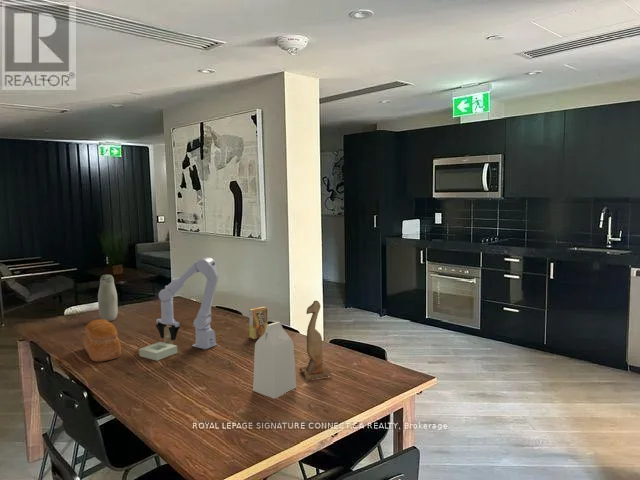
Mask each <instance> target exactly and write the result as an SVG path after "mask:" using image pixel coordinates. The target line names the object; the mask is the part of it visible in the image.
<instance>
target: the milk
mask: <svg viewBox="0 0 640 480" xmlns="http://www.w3.org/2000/svg"><path fill="white" fill-rule="evenodd" d="M294 346H295V345H294V341H293V340H292V338H291V336H290V335H289V334H288V333H287V331H285V329H284V328H283V325H282V322H280V321H276V322H272V323H269V324H267V327H266V331H265V333H264V334H263V335H262V336H261V337H260V338H257V341H256V342H255V344H254V357H253V358H254V359H253V361H254V362H253V384H252V388H253V389H252V391H253V392H255V393H258V394H261V395H264V396H266V397H268V398H272V399H277V398H279V397H281V396H284V395H285V394H287V393H286V392H288V391H290V390H292V389H294V388H296V389H297V377H296V376H297V375H296V364H295V363H296V361H295V347H294ZM294 390H295V389H294ZM292 391H293V390H292ZM290 392H291V391H290ZM284 393H285V394H284ZM288 393H289V392H288Z"/></svg>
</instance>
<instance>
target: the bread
mask: <svg viewBox="0 0 640 480" xmlns="http://www.w3.org/2000/svg"><path fill="white" fill-rule="evenodd" d="M117 330H118V329H116V327H115V325H114V323H112V321H107V320H105V319H101V318H100V319H94V320H93V319H92V320H90V321H89V322H88V323H87V324H86V326H85V328H84V331H85V334H84V337H83V346H84V347H83V348H84V350H85V352H86V353H87V354H88V356H89V358H90V360H91V361H93V362H96V363H97V362H99V363H100V362H105V361H110V360H115V359H117V358H119V357H120V356H121V354H122V346H121V342H120V339H119V337H118V331H117Z"/></svg>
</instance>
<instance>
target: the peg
mask: <svg viewBox="0 0 640 480" xmlns="http://www.w3.org/2000/svg"><path fill="white" fill-rule="evenodd" d="M168 327H172V326H171V325H166V327H164V338H163V339H164V340H163V343H168V344H172V345H174V340H173V341H172V340H171V334H170V330H169V328H168Z"/></svg>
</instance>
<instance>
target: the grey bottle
mask: <svg viewBox="0 0 640 480" xmlns="http://www.w3.org/2000/svg"><path fill="white" fill-rule="evenodd" d="M97 305H98V315H99V318H100V319H105V320H107V321H109V322H112V321H114V320H115V319H116V318H117V317H118V314H119V313H118V311H119V310H118V309H119V308H118V293H117V289H116V285H115V279H114V277H113V275H112V274H103V275H101V276H100V278H99V288H98V293H97Z"/></svg>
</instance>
